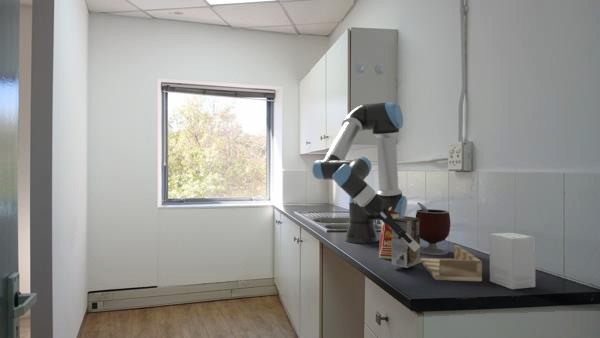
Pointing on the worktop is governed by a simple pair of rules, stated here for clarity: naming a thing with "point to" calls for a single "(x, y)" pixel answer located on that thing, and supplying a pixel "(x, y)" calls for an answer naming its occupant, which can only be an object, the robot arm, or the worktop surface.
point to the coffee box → (400, 249)
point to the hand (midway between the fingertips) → (414, 245)
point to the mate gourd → (433, 229)
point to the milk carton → (386, 238)
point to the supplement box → (512, 260)
